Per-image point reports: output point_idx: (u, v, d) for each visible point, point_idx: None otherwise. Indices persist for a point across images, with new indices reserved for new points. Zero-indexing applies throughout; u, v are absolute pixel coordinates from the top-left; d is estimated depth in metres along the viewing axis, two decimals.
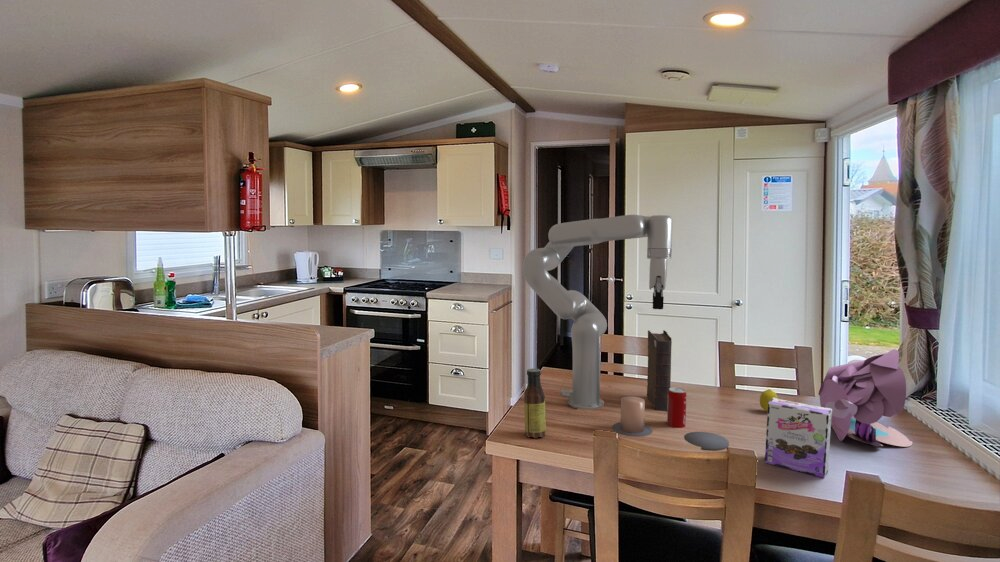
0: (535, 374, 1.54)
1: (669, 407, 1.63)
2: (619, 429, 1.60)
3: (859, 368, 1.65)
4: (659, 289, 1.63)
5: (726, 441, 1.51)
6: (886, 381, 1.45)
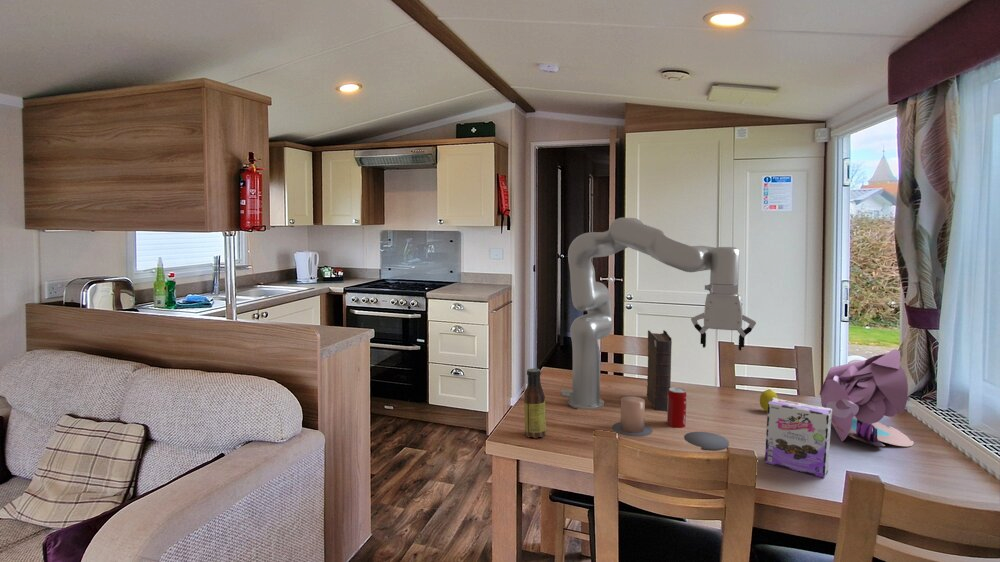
0: (535, 374, 1.54)
1: (669, 407, 1.63)
2: (619, 429, 1.60)
3: (860, 368, 1.65)
4: None
5: (726, 441, 1.51)
6: (887, 381, 1.46)
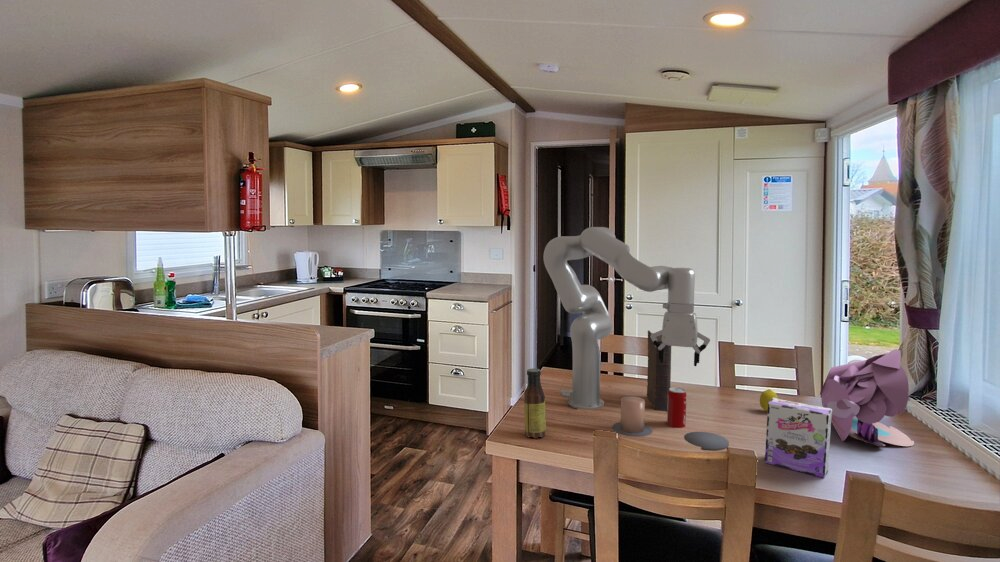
0: (535, 374, 1.54)
1: (669, 407, 1.63)
2: (619, 429, 1.60)
3: (861, 368, 1.65)
4: (707, 344, 1.59)
5: (726, 441, 1.51)
6: (888, 381, 1.46)
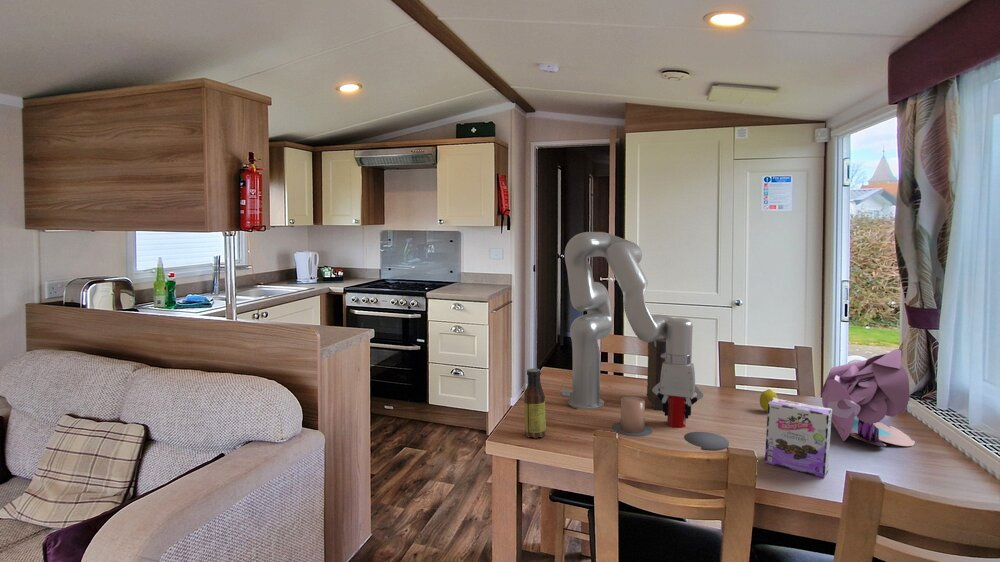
0: (535, 374, 1.54)
1: (670, 407, 1.63)
2: (619, 429, 1.60)
3: (861, 368, 1.65)
4: None
5: (726, 441, 1.51)
6: (889, 381, 1.46)
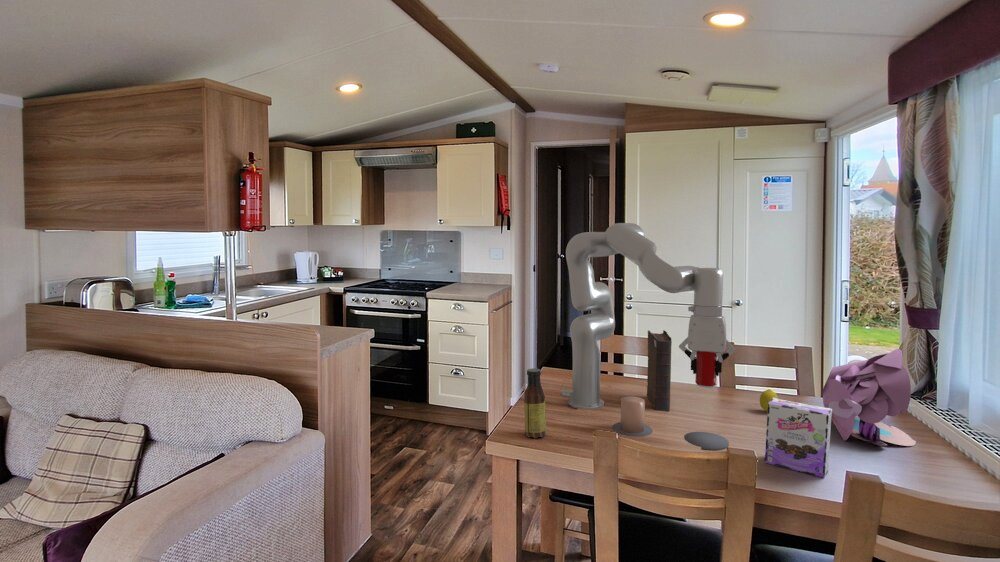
0: (535, 374, 1.54)
1: (698, 363, 1.50)
2: (619, 429, 1.60)
3: (862, 368, 1.65)
4: None
5: (726, 441, 1.51)
6: (890, 381, 1.46)
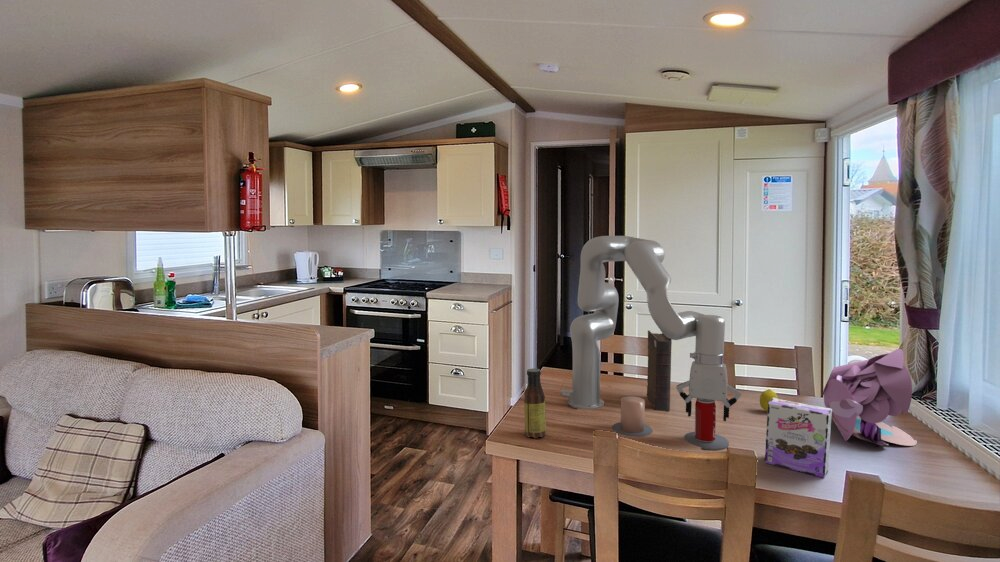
0: (535, 374, 1.54)
1: (697, 418, 1.51)
2: (619, 429, 1.60)
3: (863, 367, 1.65)
4: None
5: (726, 441, 1.51)
6: (891, 381, 1.46)
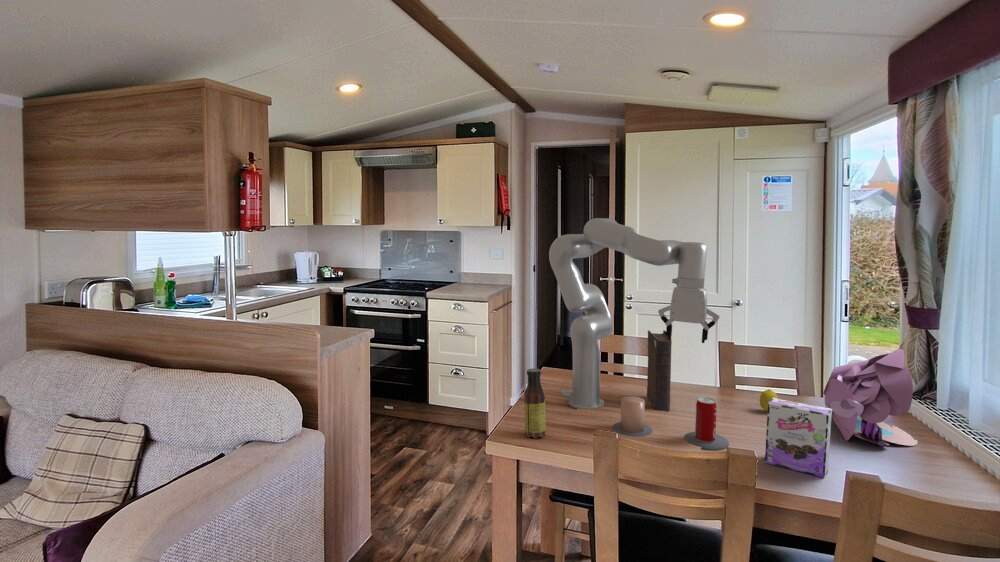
0: (535, 374, 1.54)
1: (698, 418, 1.51)
2: (619, 429, 1.60)
3: (863, 367, 1.65)
4: (716, 321, 1.56)
5: (726, 441, 1.51)
6: (892, 381, 1.46)
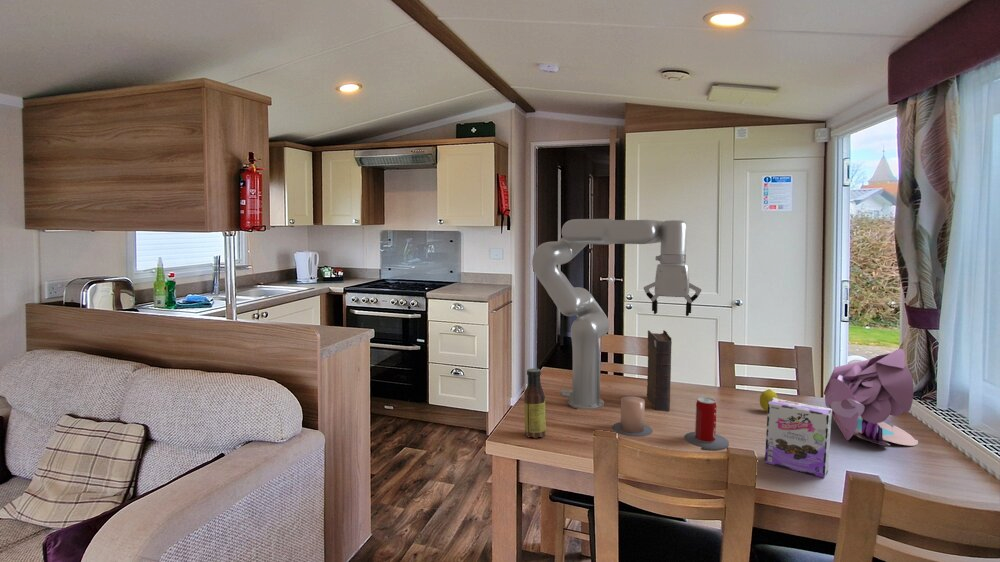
0: (535, 374, 1.54)
1: (698, 418, 1.51)
2: (619, 429, 1.60)
3: (864, 367, 1.65)
4: (698, 294, 1.63)
5: (726, 441, 1.51)
6: (893, 381, 1.46)
